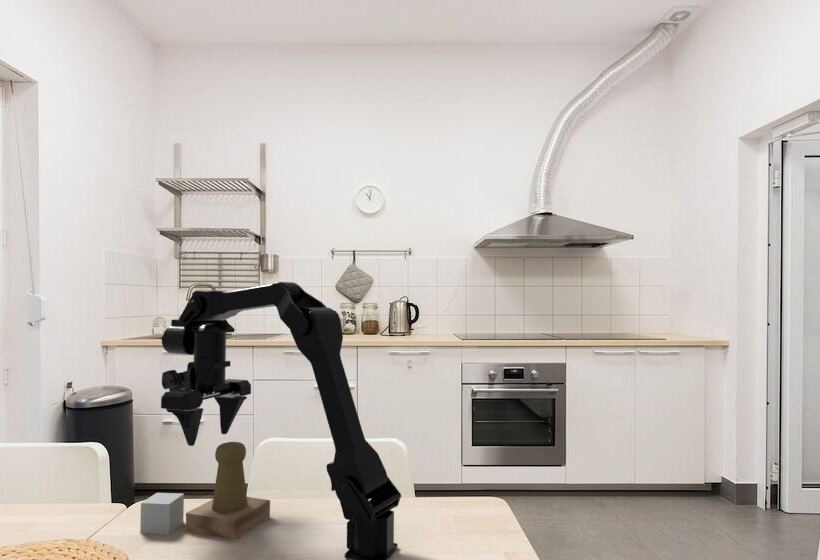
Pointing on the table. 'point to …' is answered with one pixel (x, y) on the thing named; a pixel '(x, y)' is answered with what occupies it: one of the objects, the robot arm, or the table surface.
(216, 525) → the walnut block
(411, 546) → the table surface
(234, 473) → the olive game pawn
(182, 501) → the slate cube
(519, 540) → the table surface
